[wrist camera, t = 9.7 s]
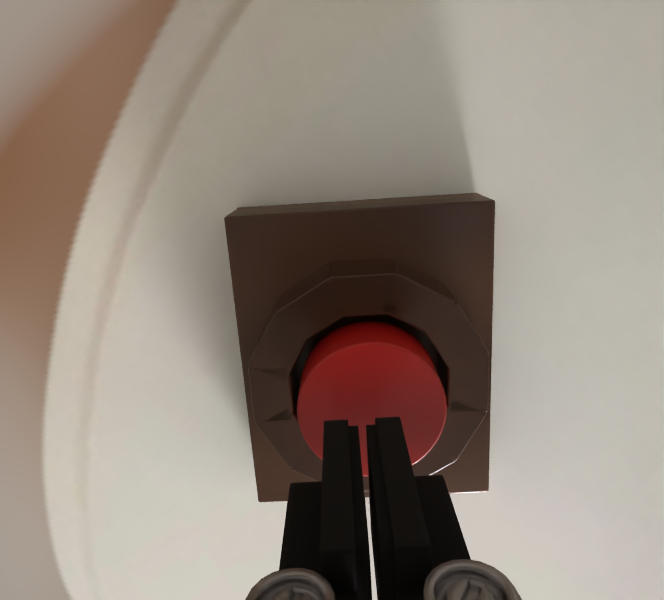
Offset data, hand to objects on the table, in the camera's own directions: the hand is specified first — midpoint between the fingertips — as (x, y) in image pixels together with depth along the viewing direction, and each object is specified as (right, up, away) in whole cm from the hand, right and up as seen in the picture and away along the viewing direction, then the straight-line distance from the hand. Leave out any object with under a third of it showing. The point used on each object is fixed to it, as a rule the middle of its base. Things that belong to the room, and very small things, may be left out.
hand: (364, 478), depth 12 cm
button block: (0, +2, +8) cm, 8 cm away
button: (0, +1, +4) cm, 5 cm away
